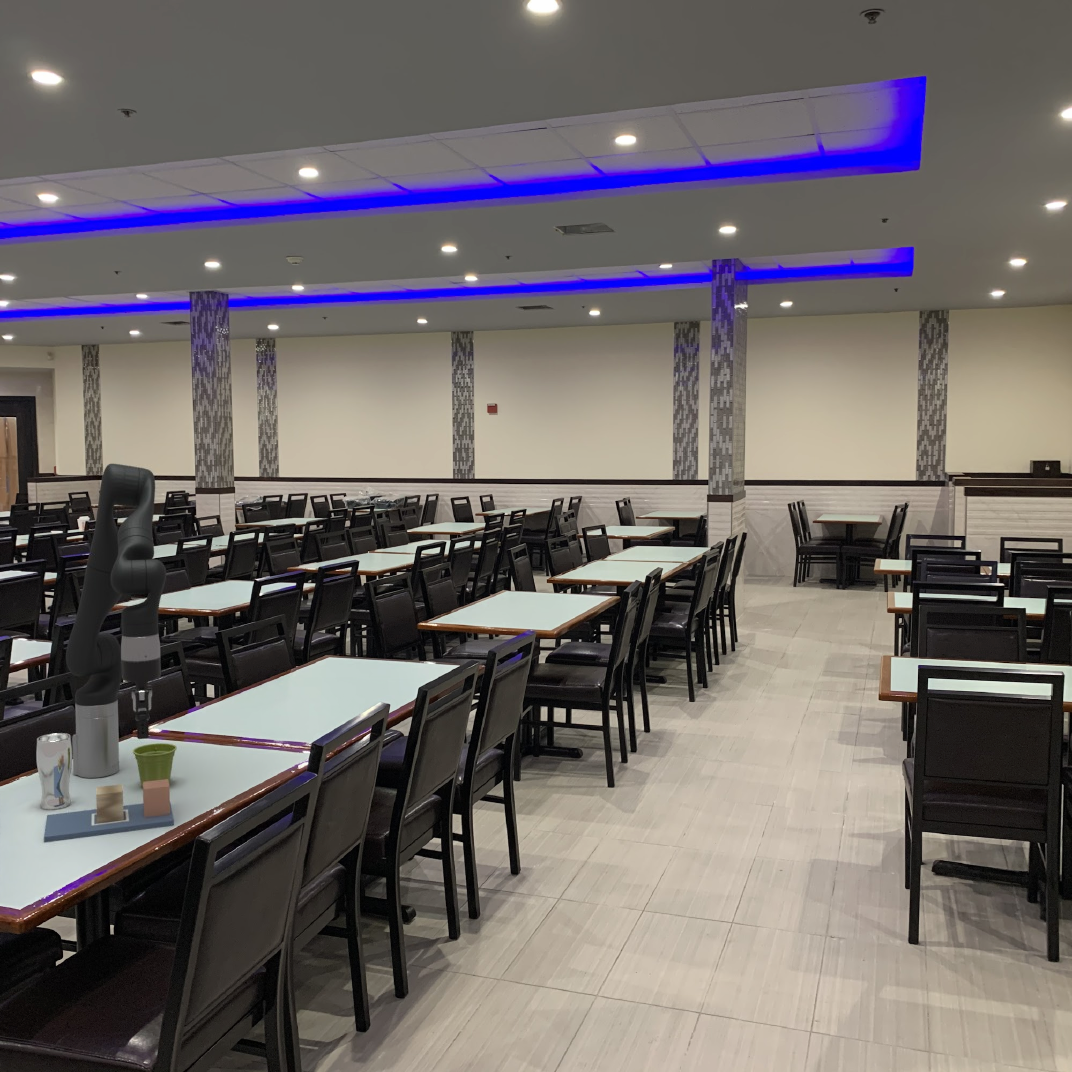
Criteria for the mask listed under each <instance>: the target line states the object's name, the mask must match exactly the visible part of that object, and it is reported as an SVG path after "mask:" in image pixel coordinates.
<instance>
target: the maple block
mask: <svg viewBox="0 0 1072 1072" xmlns="http://www.w3.org/2000/svg"><path fill="white" fill-rule="evenodd" d="M123 787H124V786H123V783H121V784H112V785H106V786H105V785H103V786H97V787H96V788H95V789H96V791H95V793H96V796H95V797H96V798H95V799H96V804H95V805H96V809H97V824H98V823H105V822H113V821H121V820H124V817H123V806H124V788H123Z"/></svg>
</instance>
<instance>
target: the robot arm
mask: <svg viewBox="0 0 1072 1072" xmlns="http://www.w3.org/2000/svg"><path fill="white" fill-rule="evenodd" d="M101 476H102V477H101V481H100V488H99V496H98V505H97V511H96V517H95V518H96V519H95V526H94V531H93V536H92V539H91V540H92V542H91V546H90V549H89V555H88V558H87V562H86V566H85V567H86V568H85V574H84V580H83V585H82V586H83V587H82V590H81V595H80V596H81V597H80V600H79V605H78V607H77V608H78V609H77V613H76V616H75V620H74V623H73V626H72V630H71V632H70V635H69V639H68V641H67V647H66V651H65V661H66V663H65V664H66V666H67V668H68V671H69V672H70V673H71V674H72V675H73V676H76V677H87V676H90V677H89V679H88V680H87V682H86V683H84V684H83V685H82V686H81V687H79V689H77V690H76V692H75V695H74V701H75V704H74V705H75V707H74V708H75V733H74V734H73V735H72V736H71V744H72V768H73V769H72V773H73V775H74V776H78V777H80V778H84V779H87V778H89V779H91V778H92V779H94V778H104V777H108V776H112V775H114V774H116V773H118V772H119V771H120V759H119V758H120V747H119V746H120V744H119V743H120V742H119V741H120V740H119V707H118V706H119V704H118V703H119V702H118V701H119V699H118V698H119V697H118V693H119V691H120V688H121V683H122V682H121V679H122V680H123V681H125V682H128V683H133V682H134V683H135V686H131V699H132V709H133V712H135V715H134V718H135V719H134V720H135V721H136V738H137V739H138V740H144V739H149V736H150V735H149V733H150V731H149V727H150V726H149V720H150V717H151V716H150V711H151V709H152V697H153V686H152V685H149V683H148V682H149V681H155V680H158V679H159V678H161V675H162V671H161V670H162V669H161V667H162V666H161V642H160V637H159V636H160V635H159V610H160V609H159V608H160V603H161V598H162V595H163V592H164V588H165V583H166V580H167V569H166V567H165V565H164V563H163V562H162V561H160V560H159V559H154V557H155V547H154V538H153V520H154V510H155V497H156V481H155V480H156V479H155V475H154V473H153V471H152V470H150V469H148V468H144V467H137V466H131V465H126V464H120V463H109V464H107V465H106V467H105V468H104V469H103V473H102V475H101ZM115 505H116V506H121V507H128V508H136V510H135V511H133V512H132V513H131V514H130V515H128V516H127V518H125V519H124V521H122V523H121V525H120V526H119V527H117V524H116V521H115V518H114V507H115ZM144 594H147V597H146V598H145V600H144V601H142V602H140V603H136V604H132V605H129V606H125V607H124V608H122V611H121V641H120V642H121V644H120V643H119V640H118V639H117V637H116V636H115V635H113V634H112V633H109V632H102V633H101V632H100V630H101V628H102V626H103V623H104V621H105V619H106V618H107V616H108V615H109V613H110V612H111V611H112V609H113V608H114V607H115V606H116V604H117V603H118V602H119V600H120V599H121V598H122V596H123V595H124V596H125V595H127V596H128V595H144Z"/></svg>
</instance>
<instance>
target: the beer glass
mask: <svg viewBox="0 0 1072 1072" xmlns="http://www.w3.org/2000/svg"><path fill="white" fill-rule="evenodd" d="M36 766H37V771H38V778H39V781H40V786H41V799H40V805H39V808H40V809H42V810H45V811H48V810H49V811H50V810H53V811H54V810H60V809H64V808H67V807H69V806H70V805H72V798H71V795H70V778H71V773H72V772H71V771H72V768H73V744H72V735H71V734H69V733H67V732H65V733H63V732H58V733H57V732H56V733H49V734H48V733H47V734H44V735H41V736H39V737H37V738H36Z"/></svg>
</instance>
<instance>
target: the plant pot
mask: <svg viewBox="0 0 1072 1072" xmlns="http://www.w3.org/2000/svg"><path fill="white" fill-rule="evenodd" d="M177 749H178V748H177V745H175V744H172V743H163V742H162V743H158V742H157V743H150V744H143V745H141V746H137V747H135V748H134V749H132V754H133V755H134V759H135V760H136V763H137V770H138V775H139V780H140V787H141V788H143V782H146V781H155V780H164V779H168V781H169V785H170V783H171V776H172V775H171V774H172V768H173V760H174V756H175V754H176V751H177Z"/></svg>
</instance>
